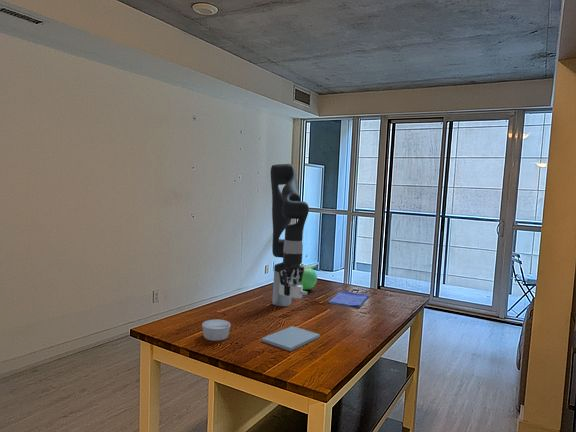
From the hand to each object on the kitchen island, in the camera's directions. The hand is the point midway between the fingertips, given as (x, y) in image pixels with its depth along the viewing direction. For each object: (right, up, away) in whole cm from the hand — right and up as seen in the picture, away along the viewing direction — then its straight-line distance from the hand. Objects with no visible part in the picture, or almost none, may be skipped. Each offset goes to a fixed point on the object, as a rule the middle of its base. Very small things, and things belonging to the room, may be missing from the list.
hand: (290, 294), depth 169 cm
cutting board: (0, -18, +1) cm, 18 cm away
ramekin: (-30, -17, -1) cm, 34 cm away
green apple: (+7, -12, +82) cm, 83 cm away
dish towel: (+32, -16, +63) cm, 73 cm away
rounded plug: (+1, -1, -1) cm, 1 cm away
